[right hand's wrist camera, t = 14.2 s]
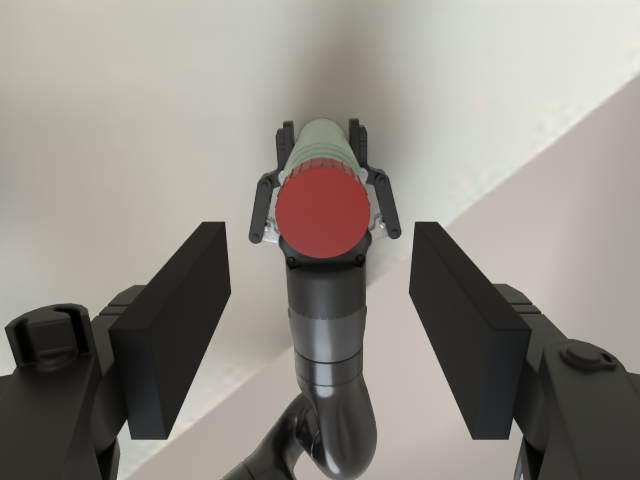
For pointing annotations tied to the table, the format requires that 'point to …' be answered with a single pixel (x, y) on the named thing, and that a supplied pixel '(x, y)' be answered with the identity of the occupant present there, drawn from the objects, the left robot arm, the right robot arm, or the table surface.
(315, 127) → the bottle
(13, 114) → the table surface
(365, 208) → the cap
